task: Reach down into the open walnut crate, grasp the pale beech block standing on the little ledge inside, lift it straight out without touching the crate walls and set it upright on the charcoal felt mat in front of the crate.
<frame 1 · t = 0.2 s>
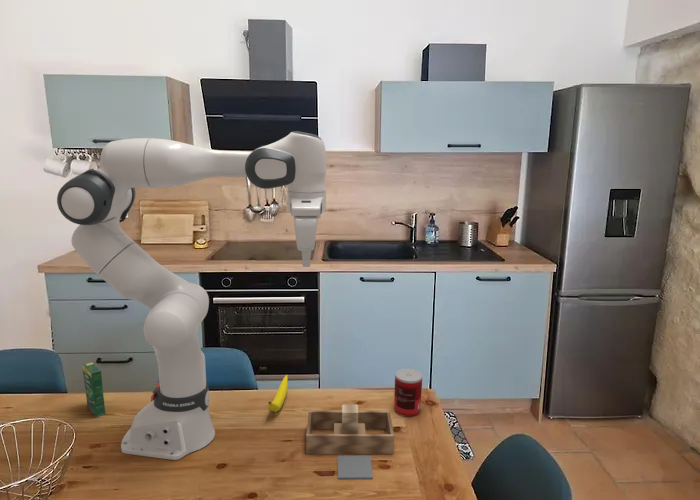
hand: (307, 261, 119), 47 cm above the table, tool pointing down, fingers open, 8 cm apart
block: (349, 429, 128), point 3 cm above the table, touching crate
crate: (349, 440, 129), on the table
canned food: (407, 410, 144), on the table
mat: (354, 467, 118), on the table
coffee box: (96, 410, 141), on the table
banana: (279, 406, 145), on the table
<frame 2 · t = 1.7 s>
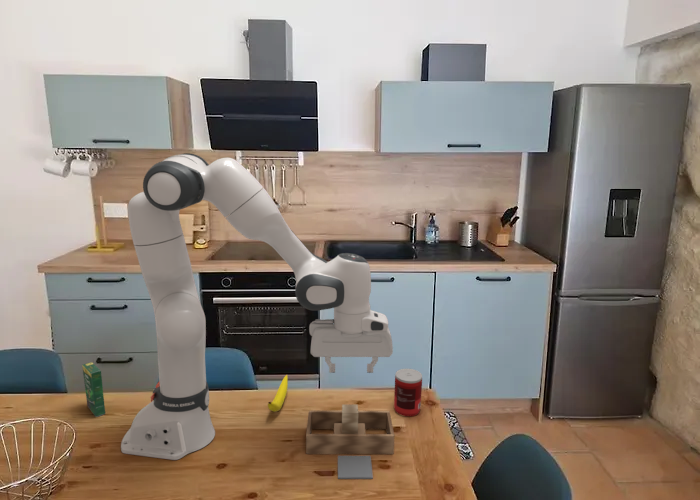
hand: (351, 371, 125), 19 cm above the table, tool pointing down, fingers open, 8 cm apart
nothing on the table moved.
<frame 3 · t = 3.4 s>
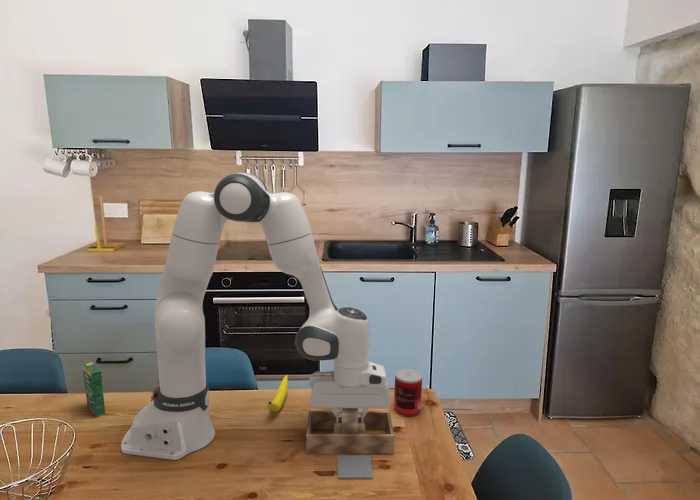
hand: (349, 421, 128), 5 cm above the table, tool pointing down, fingers closed on block, 4 cm apart
block: (349, 429, 128), point 3 cm above the table, touching crate, gripper
everything else where it was.
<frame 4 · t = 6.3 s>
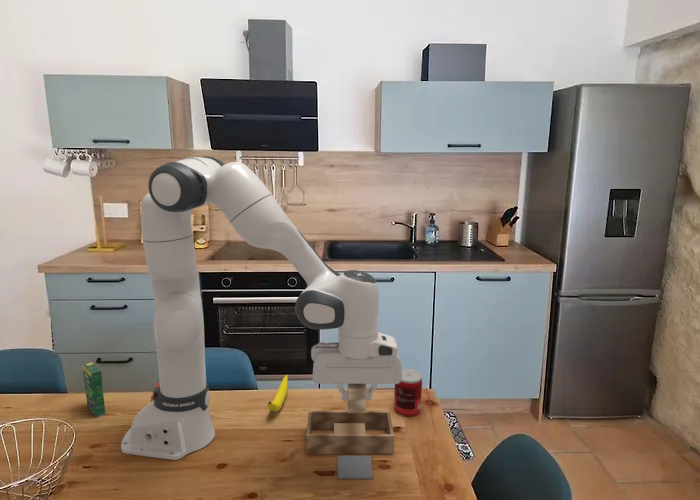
hand: (356, 399, 115), 18 cm above the table, tool pointing down, fingers closed on block, 4 cm apart
block: (356, 408, 115), point 16 cm above the table, touching gripper
everything else where it was.
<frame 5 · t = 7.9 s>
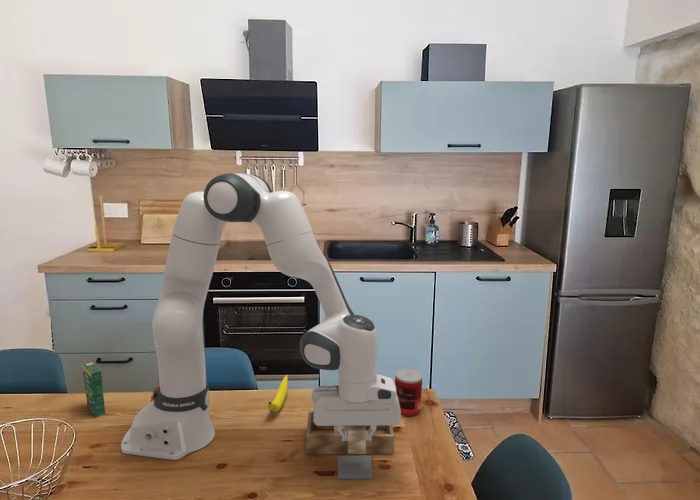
hand: (356, 439, 117), 7 cm above the table, tool pointing down, fingers closed on block, 4 cm apart
block: (356, 448, 118), point 5 cm above the table, touching gripper
everything else where it was.
when the fingers open (4 cm above the table, at t = 9.1 s): block stays where it is, resting on mat.
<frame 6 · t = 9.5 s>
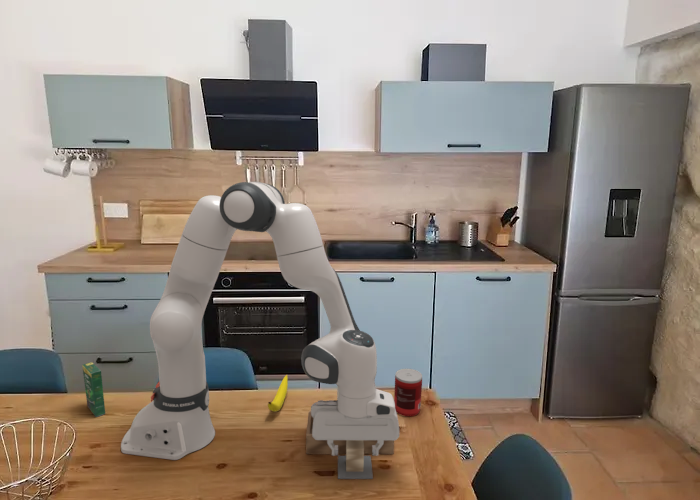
hand: (354, 454, 118), 4 cm above the table, tool pointing down, fingers open, 8 cm apart
block: (354, 466, 118), resting on mat
everything else where it was.
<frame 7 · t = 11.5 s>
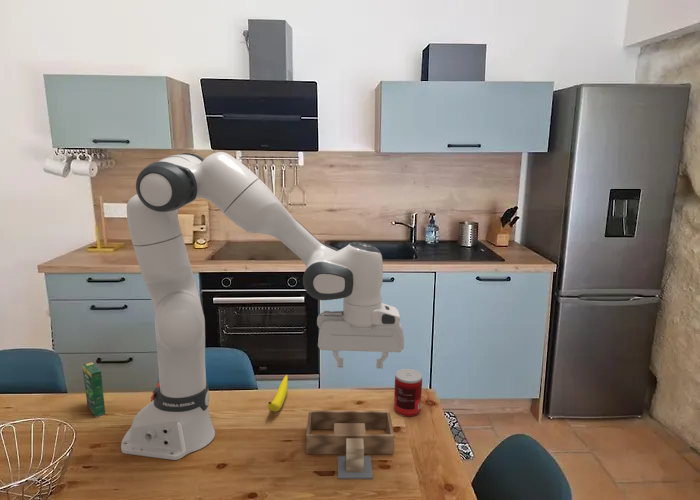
hand: (359, 367, 119), 23 cm above the table, tool pointing down, fingers open, 8 cm apart
nothing on the table moved.
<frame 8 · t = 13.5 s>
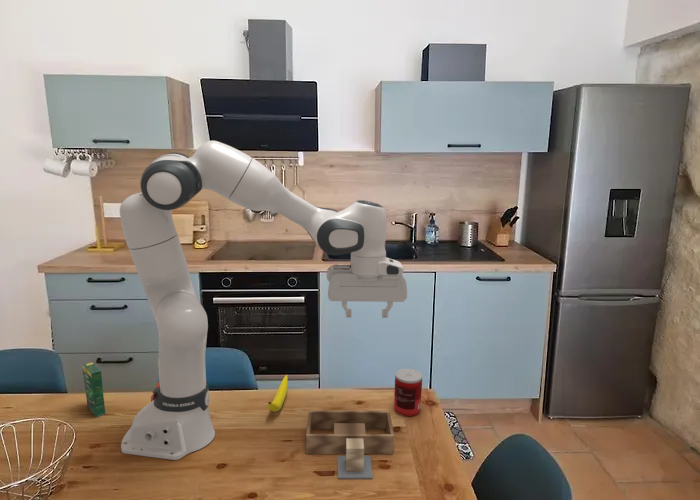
hand: (366, 316, 129), 31 cm above the table, tool pointing down, fingers open, 8 cm apart
nothing on the table moved.
at the end: block inside the target area on the mat (0.1 cm from its centre), point 0.4 cm above the mat's base; block tilted 0°; the gripper is holding nothing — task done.
